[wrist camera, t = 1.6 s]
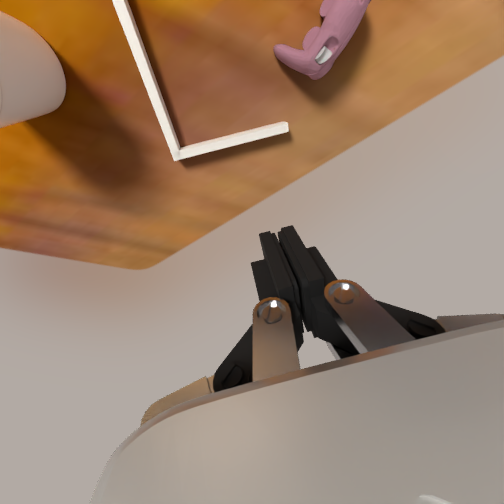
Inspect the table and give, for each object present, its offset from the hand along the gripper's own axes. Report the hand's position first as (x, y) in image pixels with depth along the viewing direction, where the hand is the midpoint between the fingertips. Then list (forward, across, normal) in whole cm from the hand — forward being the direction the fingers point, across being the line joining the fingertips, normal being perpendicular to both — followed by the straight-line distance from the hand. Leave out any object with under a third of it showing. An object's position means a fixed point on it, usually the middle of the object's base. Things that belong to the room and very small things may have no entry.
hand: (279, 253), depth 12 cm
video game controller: (+25, -12, -11) cm, 30 cm away
